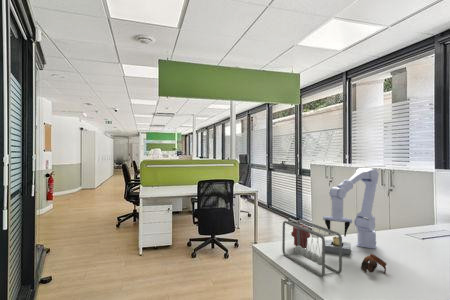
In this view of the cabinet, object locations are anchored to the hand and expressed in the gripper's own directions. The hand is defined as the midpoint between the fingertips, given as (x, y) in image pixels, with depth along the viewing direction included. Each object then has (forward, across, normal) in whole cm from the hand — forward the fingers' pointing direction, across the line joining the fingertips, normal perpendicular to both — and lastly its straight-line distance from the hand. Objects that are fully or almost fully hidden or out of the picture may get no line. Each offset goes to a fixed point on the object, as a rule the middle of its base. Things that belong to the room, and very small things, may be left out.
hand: (337, 235), depth 150 cm
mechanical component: (+9, -18, -4) cm, 21 cm away
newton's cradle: (+9, -11, -25) cm, 28 cm away
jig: (+8, 0, 0) cm, 8 cm away
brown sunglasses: (+9, +16, -21) cm, 28 cm away
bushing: (+8, 0, 0) cm, 8 cm away
